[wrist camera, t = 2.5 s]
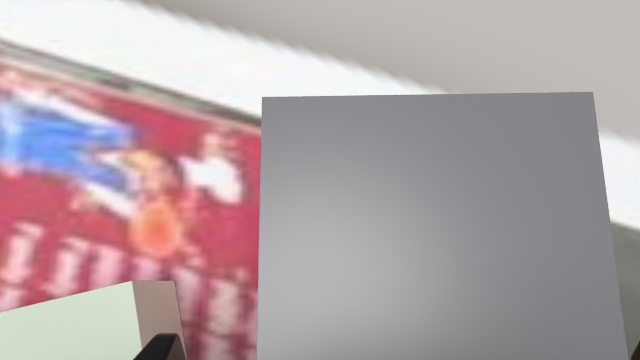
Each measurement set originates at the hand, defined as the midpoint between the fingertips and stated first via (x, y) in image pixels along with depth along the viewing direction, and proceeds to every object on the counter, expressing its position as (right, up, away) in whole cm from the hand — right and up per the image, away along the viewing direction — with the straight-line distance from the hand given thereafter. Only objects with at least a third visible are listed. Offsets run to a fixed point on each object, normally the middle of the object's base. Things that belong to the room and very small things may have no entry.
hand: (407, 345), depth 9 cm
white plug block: (0, 0, +9) cm, 9 cm away
